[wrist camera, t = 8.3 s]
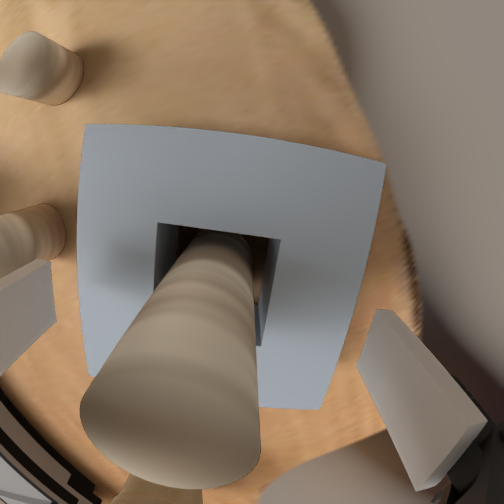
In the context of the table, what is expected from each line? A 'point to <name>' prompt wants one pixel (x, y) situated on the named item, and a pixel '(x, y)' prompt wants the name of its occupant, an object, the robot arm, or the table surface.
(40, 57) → the dowel short
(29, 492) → the game console
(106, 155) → the hole block
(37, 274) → the robot arm
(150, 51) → the table surface
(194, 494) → the flower pot
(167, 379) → the dowel long
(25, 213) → the dowel medium
